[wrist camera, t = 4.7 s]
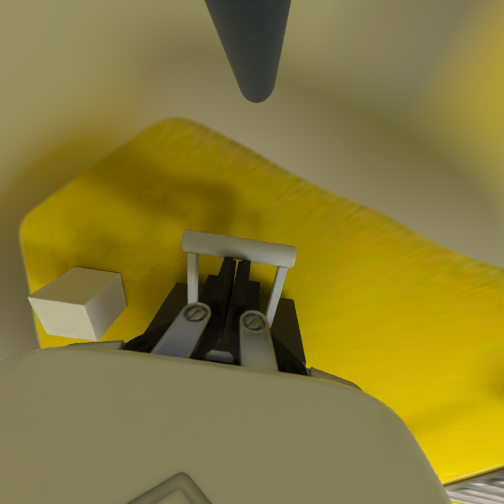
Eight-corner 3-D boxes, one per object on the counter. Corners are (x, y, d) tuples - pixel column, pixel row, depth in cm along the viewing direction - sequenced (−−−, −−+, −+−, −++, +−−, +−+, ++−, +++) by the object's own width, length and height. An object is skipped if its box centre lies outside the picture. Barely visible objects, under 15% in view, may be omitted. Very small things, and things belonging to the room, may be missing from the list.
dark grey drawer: (172, 208, 15) (120, 244, 9) (316, 231, 15) (346, 279, 10) (180, 364, 25) (157, 426, 19) (267, 376, 25) (268, 441, 20)
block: (74, 266, 19) (26, 297, 15) (120, 273, 19) (84, 305, 15) (86, 300, 21) (46, 334, 17) (127, 305, 22) (97, 341, 18)
